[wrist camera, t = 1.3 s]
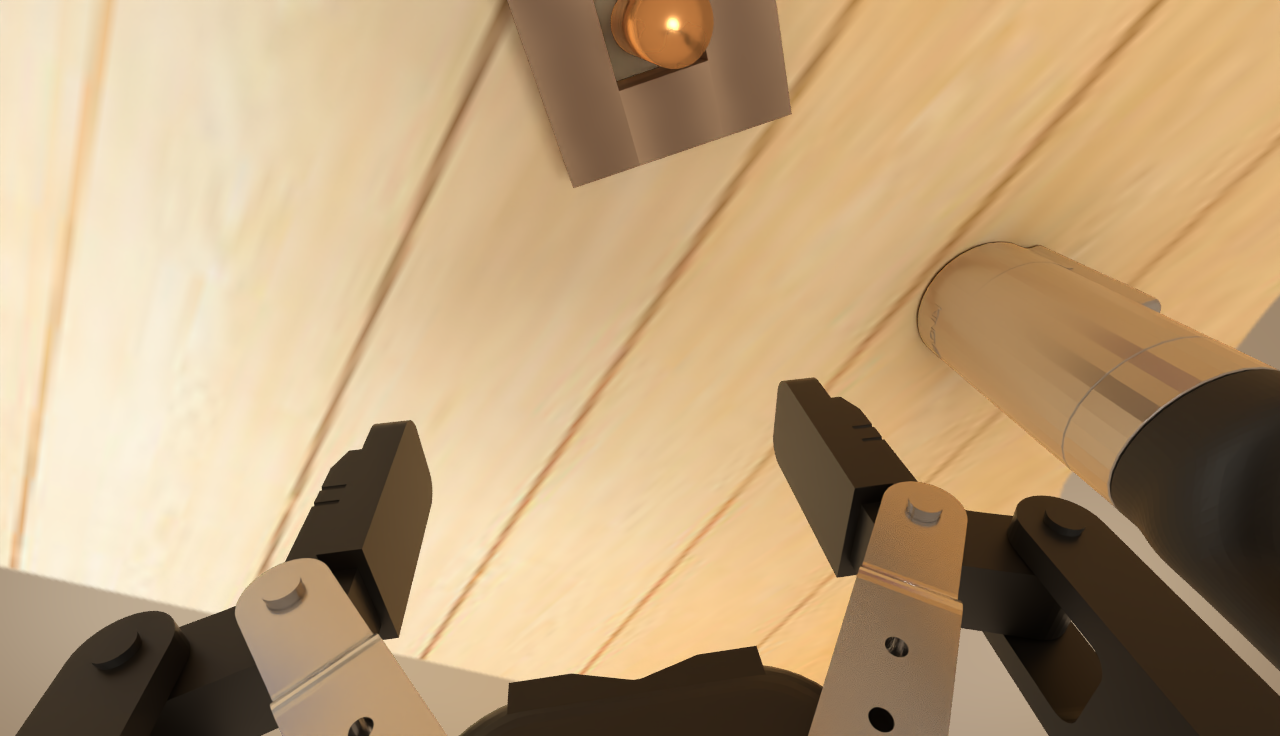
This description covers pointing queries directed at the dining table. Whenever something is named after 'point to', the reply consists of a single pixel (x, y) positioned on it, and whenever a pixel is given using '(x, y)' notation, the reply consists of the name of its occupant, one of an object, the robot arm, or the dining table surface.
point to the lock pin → (663, 30)
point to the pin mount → (650, 85)
